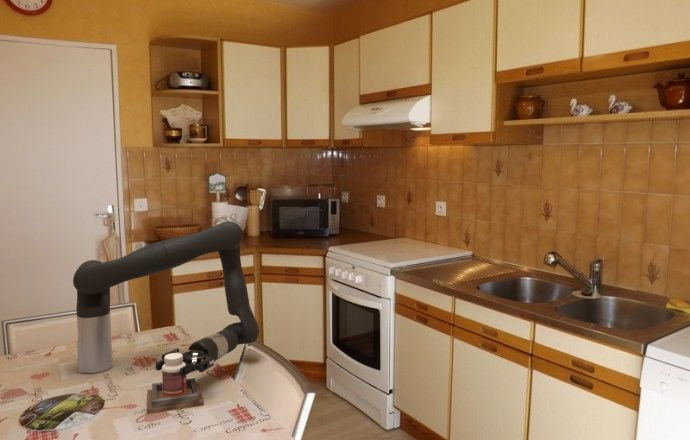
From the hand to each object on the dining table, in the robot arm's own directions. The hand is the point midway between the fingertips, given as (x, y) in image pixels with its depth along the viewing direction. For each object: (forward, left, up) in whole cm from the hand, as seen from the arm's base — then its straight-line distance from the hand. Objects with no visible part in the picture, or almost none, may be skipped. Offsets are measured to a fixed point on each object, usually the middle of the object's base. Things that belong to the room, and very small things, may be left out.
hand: (168, 369), depth 138 cm
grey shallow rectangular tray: (+1, +1, -9) cm, 9 cm away
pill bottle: (+1, +2, -8) cm, 8 cm away
